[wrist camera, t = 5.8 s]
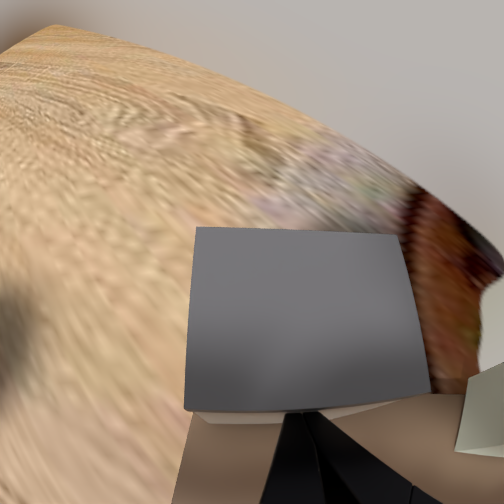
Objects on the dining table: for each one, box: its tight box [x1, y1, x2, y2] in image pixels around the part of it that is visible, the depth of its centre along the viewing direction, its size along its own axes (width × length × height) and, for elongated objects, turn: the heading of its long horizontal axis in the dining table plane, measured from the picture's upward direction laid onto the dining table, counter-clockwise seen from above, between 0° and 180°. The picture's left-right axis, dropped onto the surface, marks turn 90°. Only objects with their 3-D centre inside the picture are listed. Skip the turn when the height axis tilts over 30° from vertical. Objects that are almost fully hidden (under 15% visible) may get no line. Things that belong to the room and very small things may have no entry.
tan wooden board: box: [171, 394, 504, 504], centre depth 10 cm, size 11×19×1 cm, turn 78°
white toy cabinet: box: [184, 227, 431, 424], centre depth 10 cm, size 4×5×8 cm
